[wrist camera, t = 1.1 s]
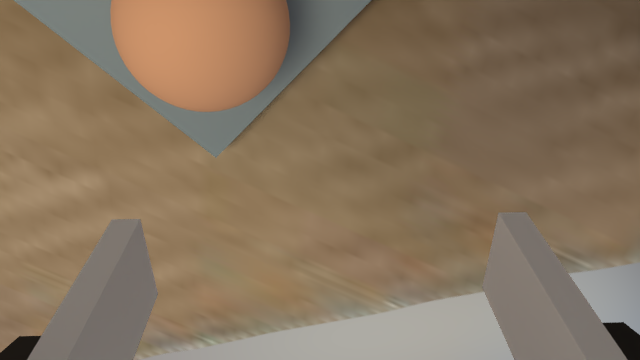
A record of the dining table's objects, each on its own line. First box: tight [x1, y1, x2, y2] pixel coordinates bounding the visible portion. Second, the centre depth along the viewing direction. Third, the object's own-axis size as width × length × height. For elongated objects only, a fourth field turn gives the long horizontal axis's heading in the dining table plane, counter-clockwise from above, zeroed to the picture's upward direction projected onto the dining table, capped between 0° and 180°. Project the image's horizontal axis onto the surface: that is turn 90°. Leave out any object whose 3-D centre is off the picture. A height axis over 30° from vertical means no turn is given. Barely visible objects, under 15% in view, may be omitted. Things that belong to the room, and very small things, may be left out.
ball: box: [110, 0, 290, 112], centre depth 28 cm, size 10×10×10 cm
